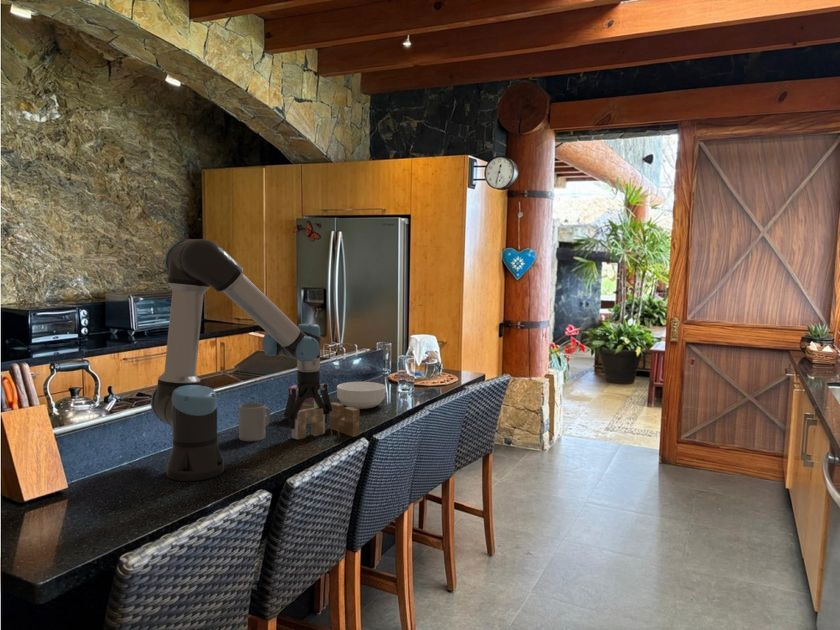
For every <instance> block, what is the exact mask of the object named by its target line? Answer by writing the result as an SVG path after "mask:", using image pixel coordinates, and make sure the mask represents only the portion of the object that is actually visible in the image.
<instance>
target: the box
mask: <svg viewBox="0 0 840 630" xmlns="http://www.w3.org/2000/svg"><path fill="white" fill-rule="evenodd" d="M297 385H298V384H297ZM297 385H296V384H293V385H291V386H289V387H288V391H287V392H288V393H287V395H288V397H289V388H296V387H297ZM318 393H319V395H320V396H321V390H320V389H319V390H318ZM298 394H299V392H298V391H297V394H296V399H295V402H296V400H297V396H298ZM288 397H287V398H288ZM301 397H302V396H301ZM294 404H295V403H294ZM316 407H318V406H317V404H316V402H315V400H314V398H312V397H310V398H306V399H305V401H304V402H303V404H302V406H301V408H300V410H304V409H310V408H316Z"/></svg>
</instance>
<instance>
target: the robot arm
mask: <svg viewBox="0 0 840 630" xmlns="http://www.w3.org/2000/svg"><path fill="white" fill-rule="evenodd" d="M164 265H165V268H166V270H167V272H168V274H167V275H168V277H167V285H168V287H170V289H172V290H171V291H172V293H171V305H170V312H169V313H170V314H169V323H168V331H167V341H166V342H167V343H166V353H165V361H164V362H165V364H164V371H163V373H162V374H160V375H159V376H158V378H157V386H156V388H155V389H154V390H153V392H152V394H151V397H150V408H151V411H152V412H153V414H154V416H156V418H157V419H159V420H160V422H162V423H164V424H167V425H169V426H170V427H172V448H171V451H170V453H169V454H170V455H169V457H168V461H167V464H166V467H165V470H166V471H165V472H166V473H165V474H166V477H167V478H169V479H171V480H174V481H180V482H195V481H204V480H208V479H212V478H215V477H218V476H220V475H221V474H223V472H224V471H225V461H224V458H223V455H222V453H221V450H220V447H219V443H218V404H219V403H218V397H217V392H216V391H215V390H214V389H213V388H211V387H209V386H206V385H201V379H200V378H199V376H197V374H196V373H197V364H198V363H197V362H198V353H199V343H200V333H201V323H202V315H203V303H204V295H205V292H207V291H208V290H209V289H210V288H211V287H212V288H213V289H214V290H215V291H216V292H218V293H224V294H225V295H226V296H227V297H228V298H229V299H230V300H231V301H233V303H234V304H236V305H237V306H238V307H239V308H240V309H241V310H242V311H243V312H244V313H245V314H246V315H248V316H249V317H250V318H251V320H253V321H254V322H255V323H256V324H257V325H258V326H259V327H260V328H262V329H263V330H264V331H265V332H266V333H265V334H264V335H263V337H262V342H261V343H262V350H263V352H264V354H265V355H266V356H268V357H273V356H274V357H277V356H283V357H287V358H290V359H294V360H296V362H297V363H296V365H297V366H296V369H297V372H296V374H297V376H296V382H297V387H296V388H289V387H288V388H289V397H287V398H288V399H287V401H286V406H285V409H284V413H283V417H284V418H286V419H288V420H289V424H288V425H289V426H288V427H289V429H290V430H291V432H290V433H291V434H290V435H291V438H293V439H295V440H299V439H298V419H295V418H296V416H297V413H298V412H299V410H300V408H301V406H302V404H303V402H304V401H305V399H306V398H310V397H312V398H314V400H315V402H316V404H317V406H318V407H319V408H323V434H322V435H324V434H325V433H326V424H327V421H328V417H327V416H328V415H330V411H332V407H331V403H332V402H331V400H330V396H329V391H328V388H329V386H328V384H327V383H324V382H321V383H320V381H321V371H320V370H319V369H321V339H322V338H321V337H322V336H321V327H320V325H319V324H317V323H299V324H298V325H296V324H295V323H294V322H293V321H292V320H291V319H290V318H289V317H288V316H287V315H286V314H285V313H284V312H283V311H282V310H281V309H280V308H279V307H278V306H277V305H276V304H275V303H274V302H273V301H272V300H271V299H270V298H269V297H267V295H266V294H265V293H264V292H262V291H261V290H260V289H259V288H258V287H257V286H256V285H255V284H254V283H253V282H252V281H251V280H250V279H249V278H248V277H247V276H246V275H245V274H244V273H243V272H244V268H243V267H242V266H241V265H240V264H239V263H238V262H237V261H236V260H235V259H234V258H233V256H231V255H230V254H229V253H228V252H227V251H226V250H225V249H224V248H222V246H220V244H217V243H216V242H214V241H212V240H210V239H205V238H198V239H197V238H196V239H195V238H193V239H192V238H190V239H189V238H185V239H182V240H179V241H177V242H174V243H173V244H172V245H170V247H168V248H167V250H166V253H165V254H164ZM319 389H320V395H319V393H318V390H319ZM297 391H298V392H299V394H298V396H297V400H296V402H295V399H296V394H297ZM301 396H302V397H301ZM294 403H295V404H294Z"/></svg>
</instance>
